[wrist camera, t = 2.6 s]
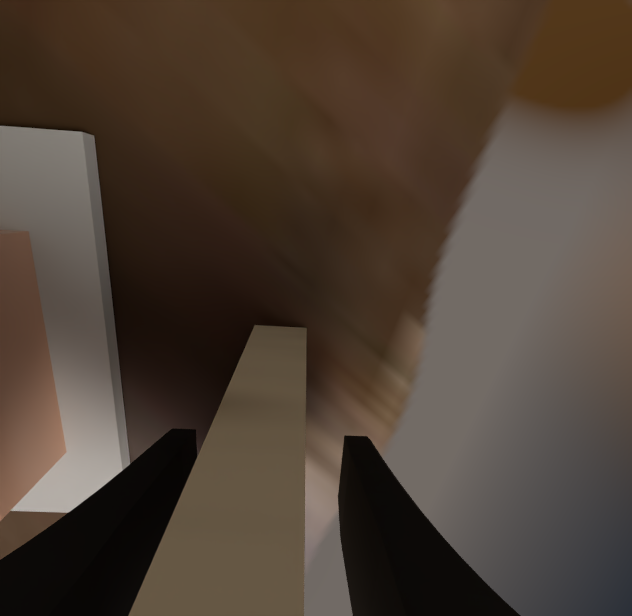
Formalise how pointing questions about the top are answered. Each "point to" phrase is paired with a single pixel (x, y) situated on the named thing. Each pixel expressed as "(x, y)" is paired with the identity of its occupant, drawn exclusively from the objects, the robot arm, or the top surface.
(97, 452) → the mat
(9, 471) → the tile
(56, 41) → the top surface
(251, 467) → the beige upright block
